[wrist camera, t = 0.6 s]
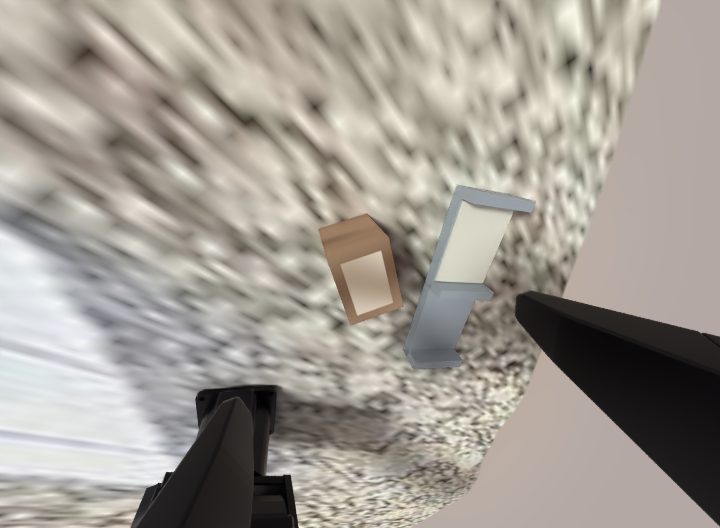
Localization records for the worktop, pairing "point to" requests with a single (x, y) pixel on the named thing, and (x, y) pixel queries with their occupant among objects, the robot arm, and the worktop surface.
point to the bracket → (459, 273)
